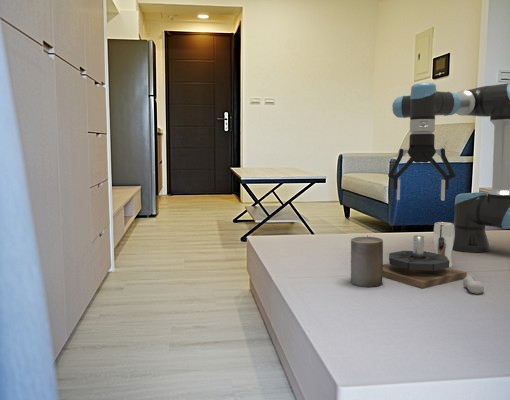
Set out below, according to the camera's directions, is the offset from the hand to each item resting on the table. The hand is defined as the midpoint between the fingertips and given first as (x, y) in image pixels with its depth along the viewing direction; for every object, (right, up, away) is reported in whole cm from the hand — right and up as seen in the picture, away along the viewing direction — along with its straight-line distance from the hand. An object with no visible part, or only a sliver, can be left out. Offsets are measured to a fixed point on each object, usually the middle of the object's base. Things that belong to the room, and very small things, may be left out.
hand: (420, 199), depth 153 cm
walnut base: (0, -25, +2) cm, 25 cm away
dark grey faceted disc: (0, -21, +1) cm, 21 cm away
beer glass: (+13, -23, +15) cm, 31 cm away
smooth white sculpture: (+11, -27, -15) cm, 32 cm away
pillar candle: (-19, -26, -6) cm, 33 cm away
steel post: (0, -23, +2) cm, 23 cm away
